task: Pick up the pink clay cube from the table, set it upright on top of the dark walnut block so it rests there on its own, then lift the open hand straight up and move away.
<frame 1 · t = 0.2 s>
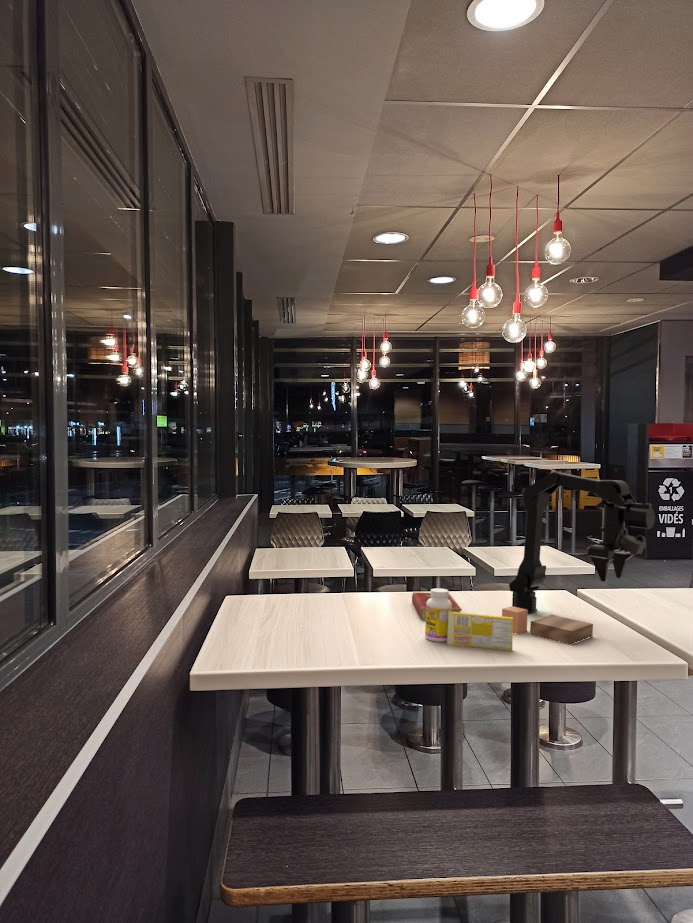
hand: (611, 579, 192), 14 cm above the table, tool pointing down, fingers open, 9 cm apart
candy box: (479, 647, 172), on the table
walnut block: (561, 637, 185), on the table
hardcover book: (435, 613, 207), on the table
pink clay cube: (514, 630, 189), on the table
supplement bottle: (437, 639, 178), on the table
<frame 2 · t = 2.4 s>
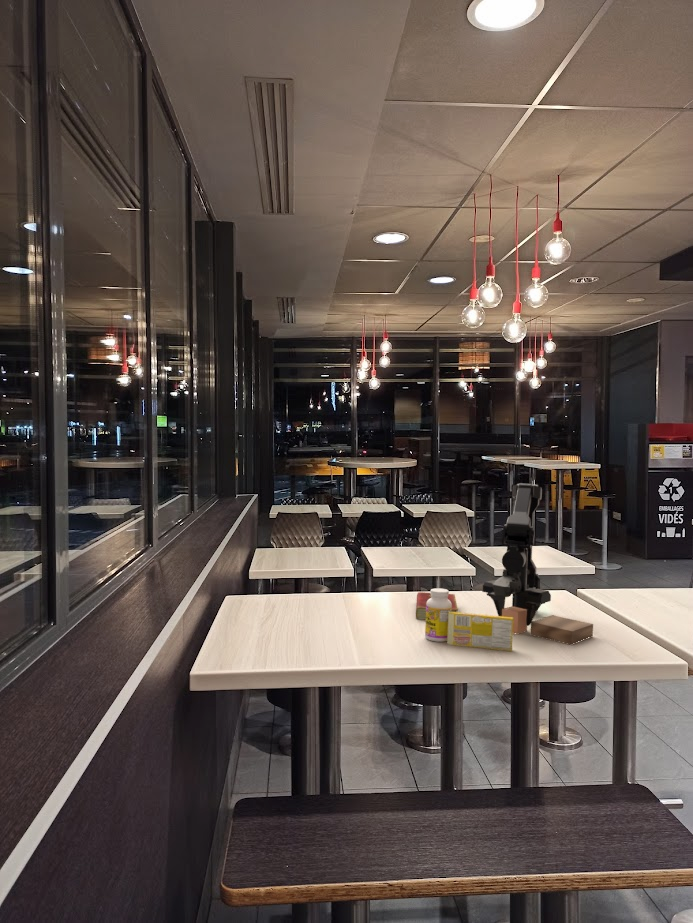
hand: (514, 622, 189), 2 cm above the table, tool pointing down, fingers open, 8 cm apart
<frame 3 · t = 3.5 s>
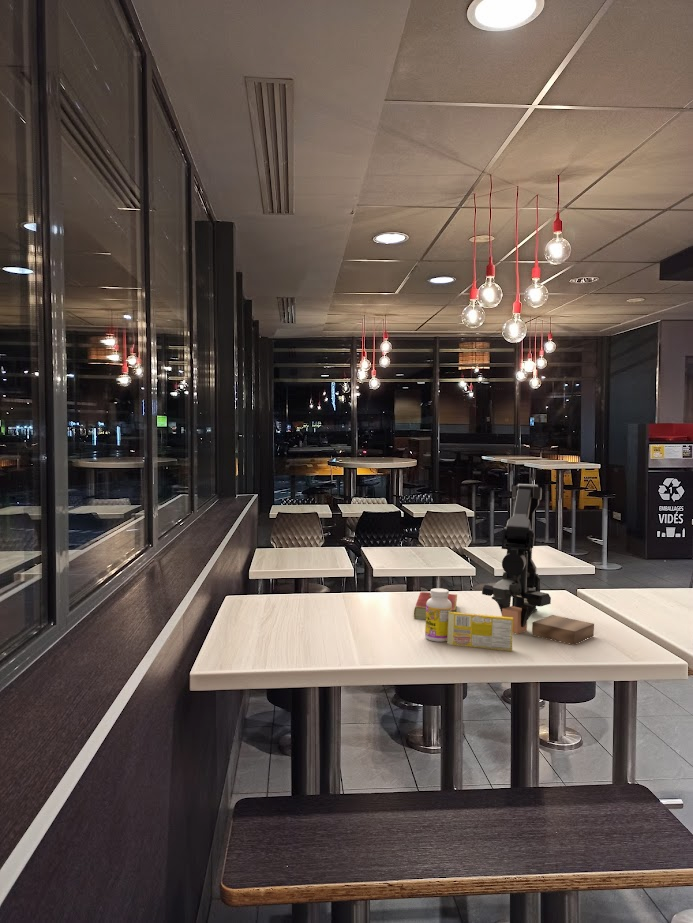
hand: (514, 624, 189), 2 cm above the table, tool pointing down, fingers closed on pink clay cube, 5 cm apart
pink clay cube: (514, 630, 189), on the table, touching gripper
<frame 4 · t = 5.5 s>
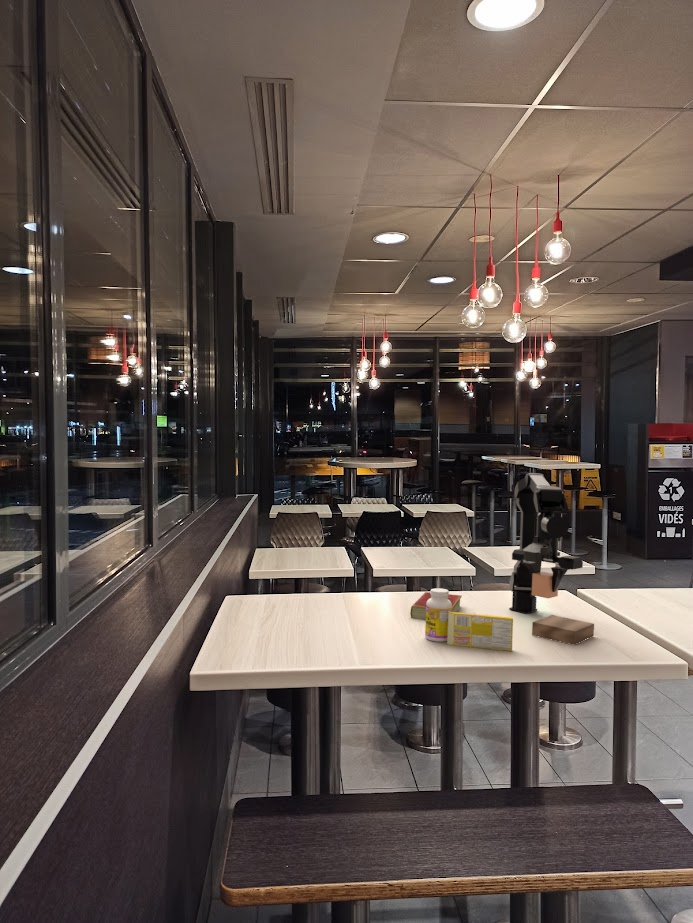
hand: (545, 589, 186), 12 cm above the table, tool pointing down, fingers closed on pink clay cube, 5 cm apart
pink clay cube: (544, 595, 186), point 11 cm above the table, touching gripper
when the fingers open (7 cm above the table, at t = 7.9 s): pink clay cube drops 2 cm, point 3 cm above the table.
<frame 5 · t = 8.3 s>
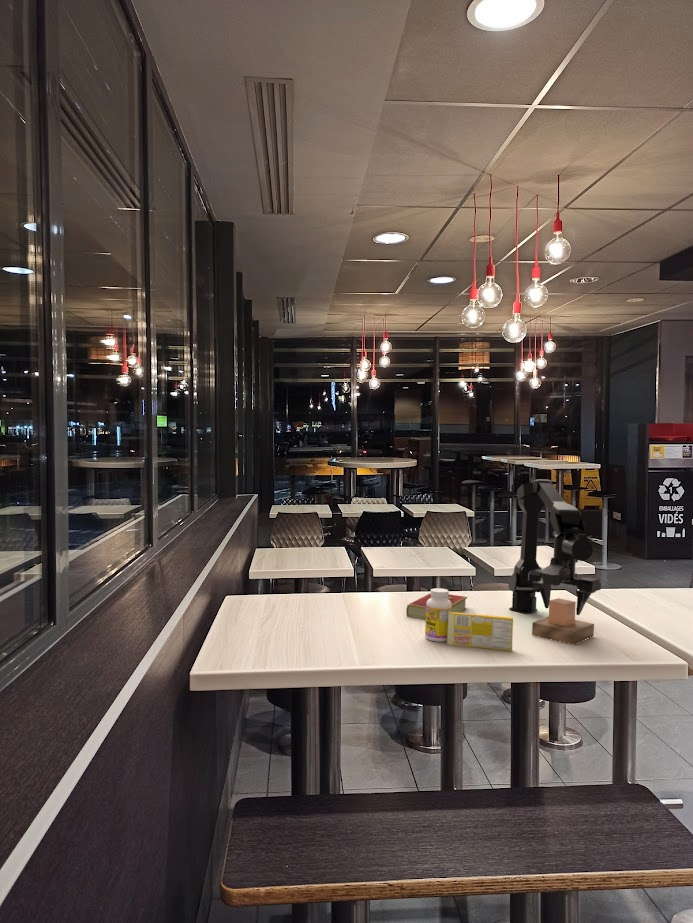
hand: (562, 611, 185), 7 cm above the table, tool pointing down, fingers open, 9 cm apart
pink clay cube: (561, 622, 185), point 3 cm above the table
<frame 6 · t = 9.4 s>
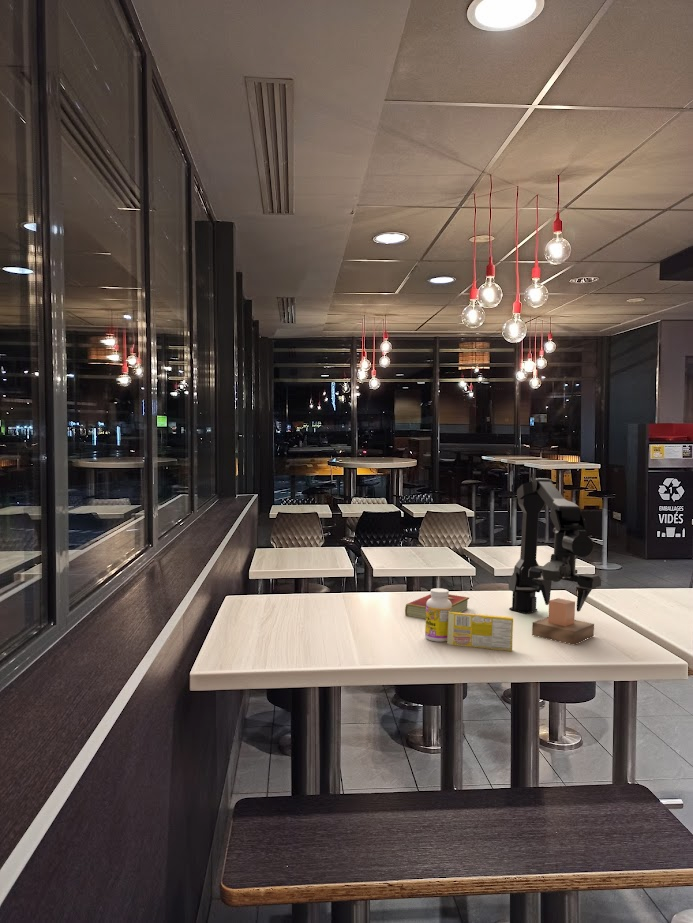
hand: (562, 607, 185), 8 cm above the table, tool pointing down, fingers open, 9 cm apart
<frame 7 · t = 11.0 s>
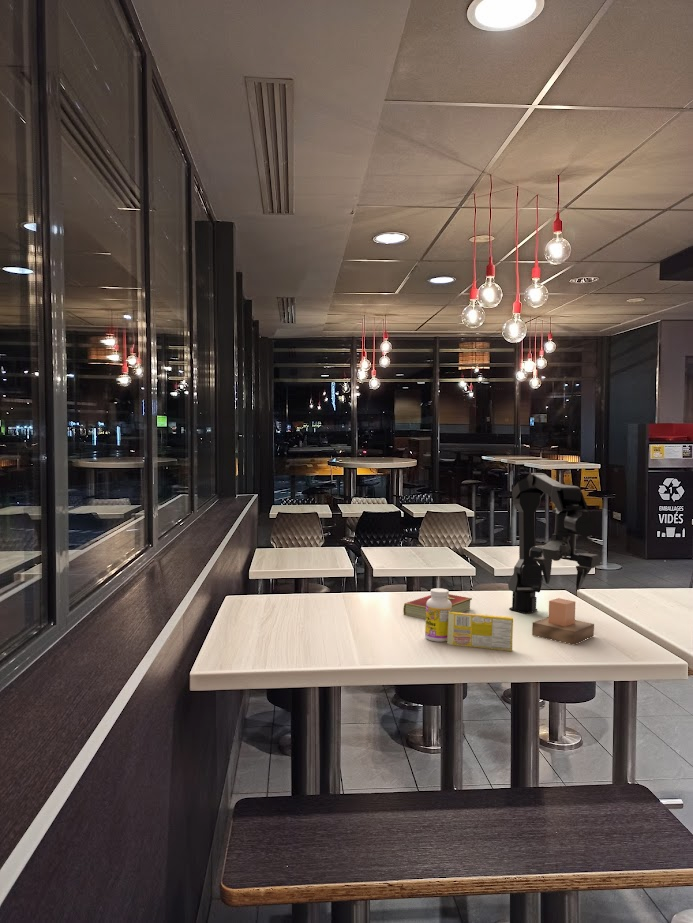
hand: (562, 586, 189), 13 cm above the table, tool pointing down, fingers open, 9 cm apart
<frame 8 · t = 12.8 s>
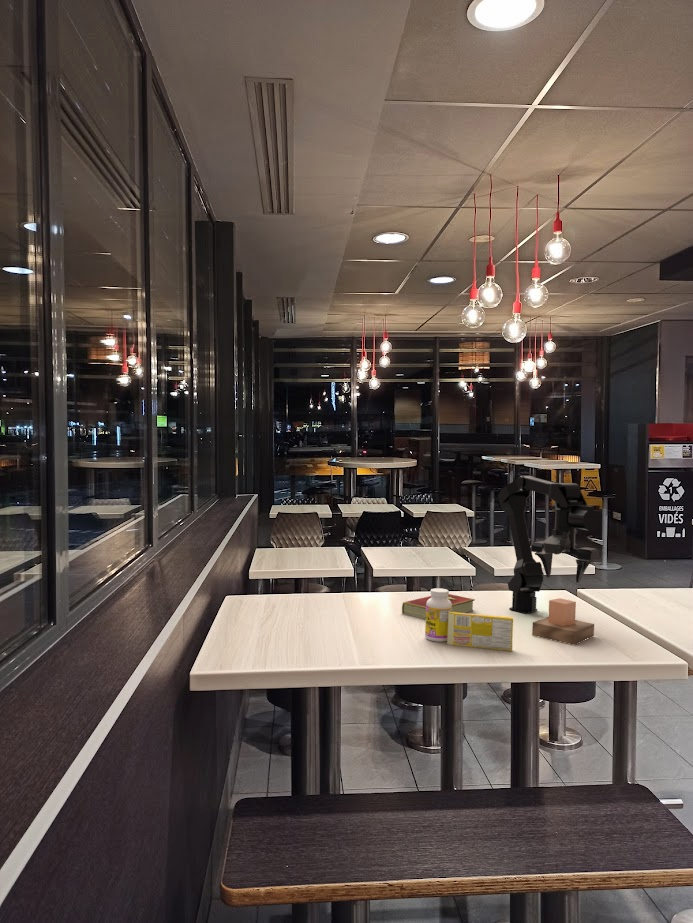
hand: (562, 580, 197), 13 cm above the table, tool pointing down, fingers open, 9 cm apart
walnut block: (562, 637, 185), on the table, touching pink clay cube
pink clay cube: (561, 622, 185), point 3 cm above the table, touching walnut block
at the end: pink clay cube inside the target area on the walnut block (0.5 cm from its centre), point 4.0 cm above the walnut block's base; pink clay cube tilted 0°; the gripper is holding nothing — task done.
